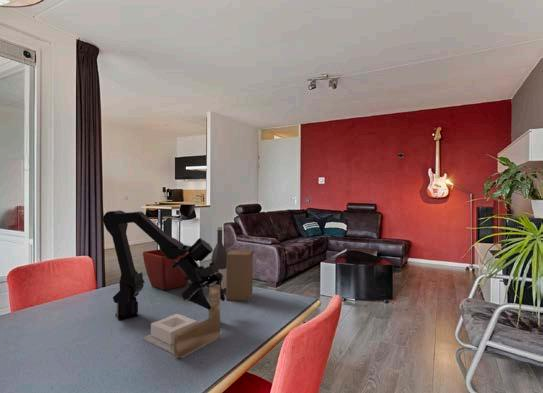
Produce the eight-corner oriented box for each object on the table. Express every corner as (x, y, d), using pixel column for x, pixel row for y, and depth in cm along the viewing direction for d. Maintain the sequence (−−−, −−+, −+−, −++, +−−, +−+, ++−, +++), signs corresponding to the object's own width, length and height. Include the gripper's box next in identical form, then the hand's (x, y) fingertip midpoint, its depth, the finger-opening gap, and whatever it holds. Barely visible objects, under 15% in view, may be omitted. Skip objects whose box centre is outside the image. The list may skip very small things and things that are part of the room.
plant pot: (175, 277, 164) (175, 246, 163) (197, 285, 151) (197, 251, 151) (141, 285, 149) (141, 251, 149) (162, 294, 137) (162, 257, 137)
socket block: (150, 335, 96) (150, 323, 96) (176, 324, 104) (176, 313, 104) (170, 345, 90) (170, 332, 90) (196, 332, 98) (196, 320, 98)
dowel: (211, 326, 105) (211, 288, 105) (206, 322, 108) (206, 285, 108) (221, 323, 107) (222, 286, 107) (216, 319, 110) (217, 283, 110)
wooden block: (252, 293, 139) (253, 250, 139) (248, 301, 129) (249, 254, 129) (231, 292, 140) (231, 249, 140) (225, 300, 130) (226, 254, 130)
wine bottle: (224, 293, 139) (225, 228, 139) (207, 291, 141) (208, 227, 141) (230, 287, 147) (230, 226, 147) (214, 286, 149) (215, 225, 149)
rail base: (140, 340, 94) (140, 319, 94) (181, 322, 107) (182, 304, 107) (178, 359, 84) (179, 336, 83) (219, 337, 97) (220, 317, 97)
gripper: (189, 261, 100) (217, 299, 96) (218, 251, 118) (244, 283, 114) (169, 282, 103) (196, 319, 99) (201, 269, 121) (225, 301, 117)
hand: (217, 304), depth 107 cm, fingers open, 9 cm apart
